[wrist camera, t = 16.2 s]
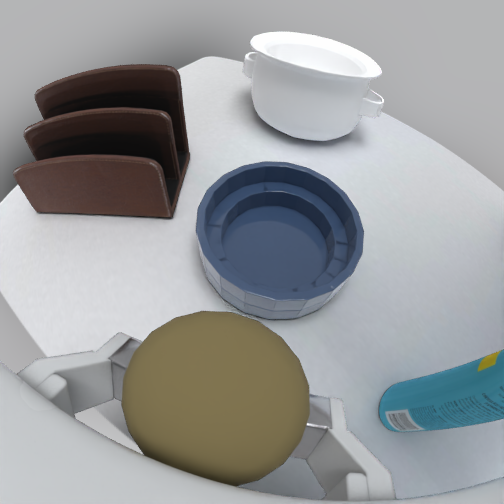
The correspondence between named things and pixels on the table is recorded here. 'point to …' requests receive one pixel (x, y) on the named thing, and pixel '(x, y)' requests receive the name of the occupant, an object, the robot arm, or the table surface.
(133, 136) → the letter holder
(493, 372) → the tube
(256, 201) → the bowl
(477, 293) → the table surface
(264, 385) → the cork
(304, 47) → the pot
